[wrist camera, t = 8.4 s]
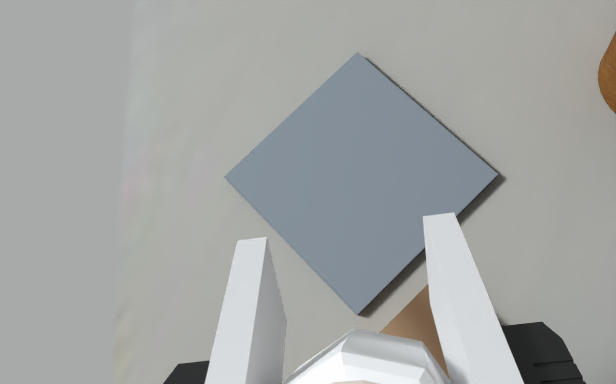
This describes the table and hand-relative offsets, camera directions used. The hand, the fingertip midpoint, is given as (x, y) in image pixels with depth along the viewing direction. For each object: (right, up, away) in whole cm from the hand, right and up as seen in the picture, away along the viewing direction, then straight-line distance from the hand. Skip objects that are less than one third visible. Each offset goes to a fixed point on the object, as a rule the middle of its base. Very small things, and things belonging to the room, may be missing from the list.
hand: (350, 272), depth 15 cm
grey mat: (+2, +3, +19) cm, 19 cm away
